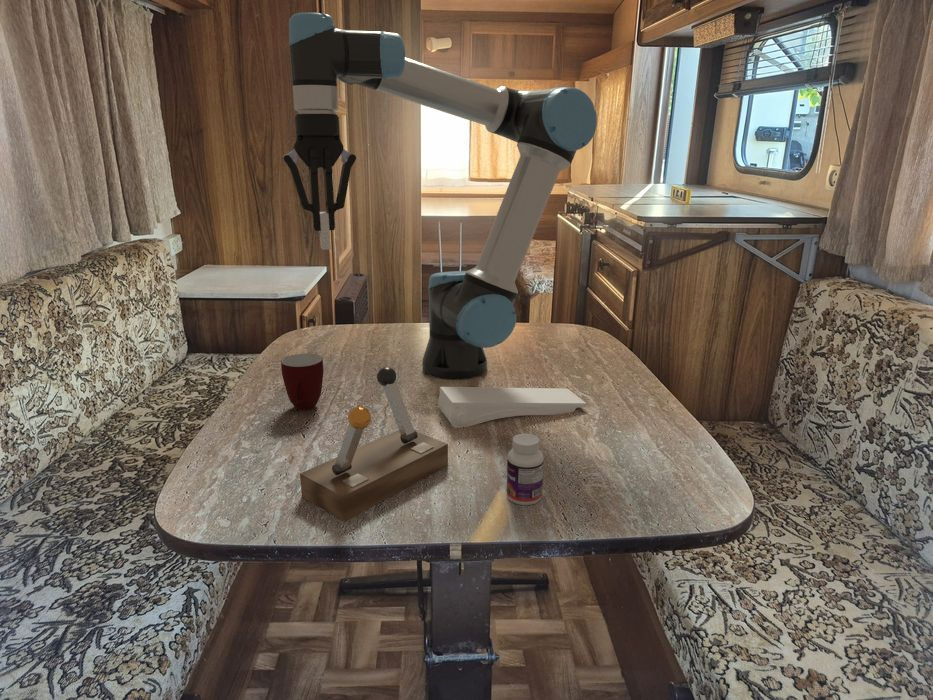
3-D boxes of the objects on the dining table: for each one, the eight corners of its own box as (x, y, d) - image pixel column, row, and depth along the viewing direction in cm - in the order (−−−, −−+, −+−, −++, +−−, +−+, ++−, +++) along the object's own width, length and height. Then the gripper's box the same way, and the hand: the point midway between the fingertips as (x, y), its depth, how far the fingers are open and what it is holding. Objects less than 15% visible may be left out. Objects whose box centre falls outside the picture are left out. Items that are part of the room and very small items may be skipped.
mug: (319, 420, 127) (315, 371, 124) (277, 420, 127) (272, 371, 124) (329, 399, 137) (326, 353, 134) (290, 399, 137) (286, 353, 134)
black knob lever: (397, 446, 109) (370, 372, 109) (411, 439, 111) (384, 367, 111) (409, 442, 107) (381, 367, 107) (423, 436, 109) (396, 362, 109)
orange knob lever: (325, 467, 99) (346, 405, 91) (342, 459, 101) (364, 399, 94) (338, 482, 97) (360, 420, 90) (355, 474, 100) (378, 413, 92)
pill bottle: (504, 488, 103) (505, 431, 100) (538, 487, 104) (540, 430, 101) (509, 507, 98) (510, 447, 95) (545, 505, 99) (547, 446, 96)
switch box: (301, 497, 101) (299, 472, 99) (405, 447, 116) (405, 426, 115) (344, 521, 94) (342, 495, 93) (448, 465, 110) (447, 442, 109)
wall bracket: (561, 421, 141) (435, 422, 132) (563, 387, 141) (437, 385, 132) (585, 429, 132) (451, 431, 122) (587, 393, 132) (453, 391, 122)
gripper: (350, 113, 120) (356, 243, 128) (276, 113, 116) (287, 247, 124) (357, 112, 114) (364, 249, 121) (279, 111, 110) (291, 253, 117)
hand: (325, 248), depth 122 cm, fingers closed
